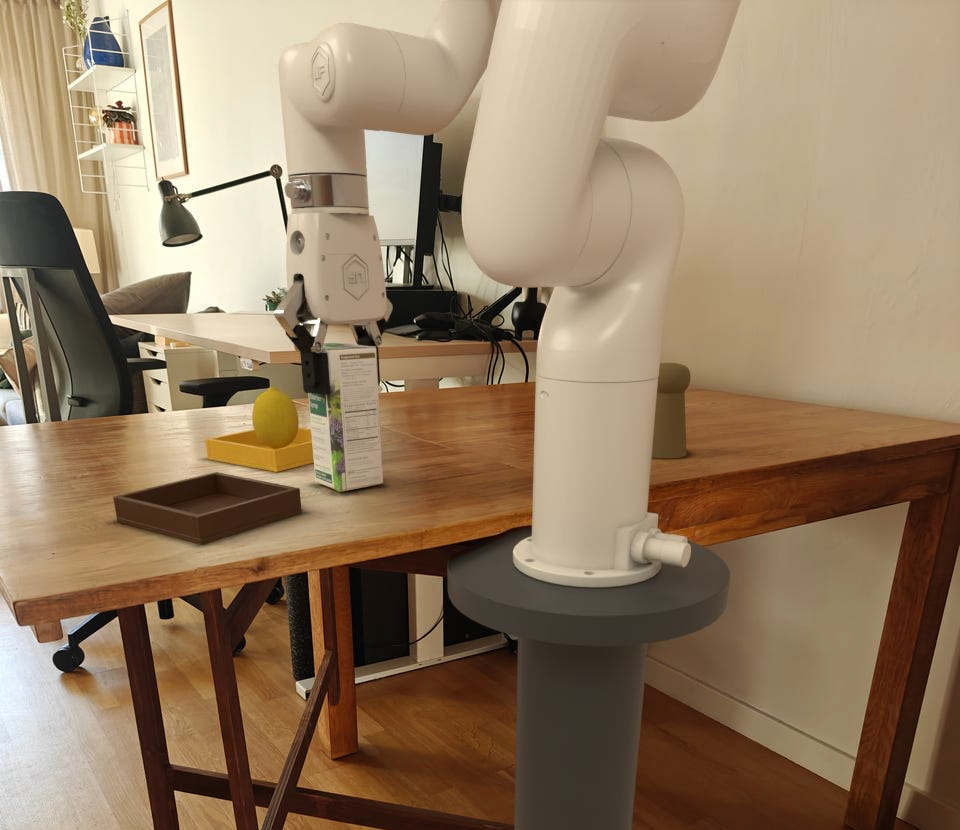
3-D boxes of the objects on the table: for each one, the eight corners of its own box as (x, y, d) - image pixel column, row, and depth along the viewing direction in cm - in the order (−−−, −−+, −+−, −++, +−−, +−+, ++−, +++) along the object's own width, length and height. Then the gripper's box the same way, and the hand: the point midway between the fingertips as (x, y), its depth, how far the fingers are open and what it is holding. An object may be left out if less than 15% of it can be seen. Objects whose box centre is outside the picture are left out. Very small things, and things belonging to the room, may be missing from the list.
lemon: (297, 446, 111) (292, 382, 108) (303, 455, 106) (298, 388, 103) (254, 449, 110) (246, 384, 106) (258, 458, 105) (251, 390, 101)
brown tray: (302, 513, 85) (299, 488, 84) (201, 544, 75) (197, 517, 74) (219, 495, 91) (216, 471, 90) (117, 522, 82) (112, 496, 81)
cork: (645, 458, 107) (652, 366, 102) (633, 448, 112) (639, 360, 108) (692, 458, 107) (702, 366, 103) (678, 448, 113) (686, 360, 108)
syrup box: (313, 483, 95) (300, 344, 89) (360, 475, 98) (350, 340, 92) (338, 492, 91) (326, 348, 85) (386, 484, 94) (377, 344, 88)
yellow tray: (348, 453, 110) (346, 434, 109) (276, 472, 100) (274, 450, 99) (280, 443, 116) (278, 424, 115) (207, 459, 107) (205, 439, 106)
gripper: (291, 191, 75) (309, 402, 82) (415, 201, 88) (422, 382, 95) (232, 196, 79) (255, 396, 86) (360, 204, 92) (370, 378, 99)
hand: (342, 387), depth 90 cm, fingers closed on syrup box, 7 cm apart
